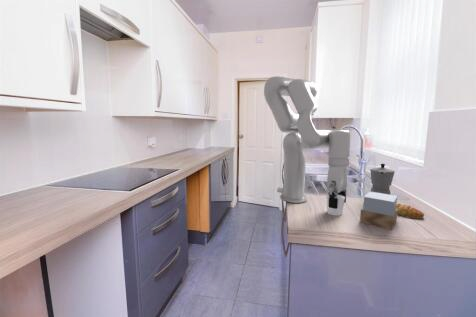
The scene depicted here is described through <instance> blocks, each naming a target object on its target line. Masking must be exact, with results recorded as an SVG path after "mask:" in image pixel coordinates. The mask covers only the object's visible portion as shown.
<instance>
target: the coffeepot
mask: <svg viewBox="0 0 476 317" xmlns="http://www.w3.org/2000/svg"><path fill="white" fill-rule="evenodd" d="M385 165H386V164H385V163H380V167H374V168H370V180H371V182H370V183H371V184H372V186H371V187H370V192H376V193H382V194H389V195H392V194H391V189H390V186H392V184H393V180H394V175H395V172H396V171H394V170H393V169H390V168H386V167H385Z"/></svg>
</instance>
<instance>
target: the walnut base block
mask: <svg viewBox="0 0 476 317" xmlns="http://www.w3.org/2000/svg"><path fill="white" fill-rule="evenodd" d="M397 211H398V209H396V210H395V212H394V215H393V216H389V215H384V214H379V213H374V212H370V211H365V210H363V207H362V208H360V215H359V223H362V224H366V225H369V226H375V227H379V228H382V229H386V230H391V231H393V229H394V226H395V224H396V223H397V220H398V214H397Z"/></svg>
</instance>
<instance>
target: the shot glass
mask: <svg viewBox="0 0 476 317" xmlns="http://www.w3.org/2000/svg"><path fill="white" fill-rule="evenodd" d="M337 198H338V208H337V209H335V208H329V194H326V211H327V212H326V213H327V214H329V215H331V216H342V215H343V211H344V207H345V203H344V201H345V197H344V196H342V195H337Z"/></svg>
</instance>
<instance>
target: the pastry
mask: <svg viewBox="0 0 476 317" xmlns="http://www.w3.org/2000/svg"><path fill="white" fill-rule="evenodd" d="M396 209H398V211H397V216H399V215H400V216H402V217H406V218H407V217H408V218H410V219H411V218H412V219H419V220H420V219H423V218H424V217H425V213H424V212H422V211H421V210H419V209H417V208H415V207H413V206H410V205H406V204H401V203H397V204H396Z"/></svg>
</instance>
